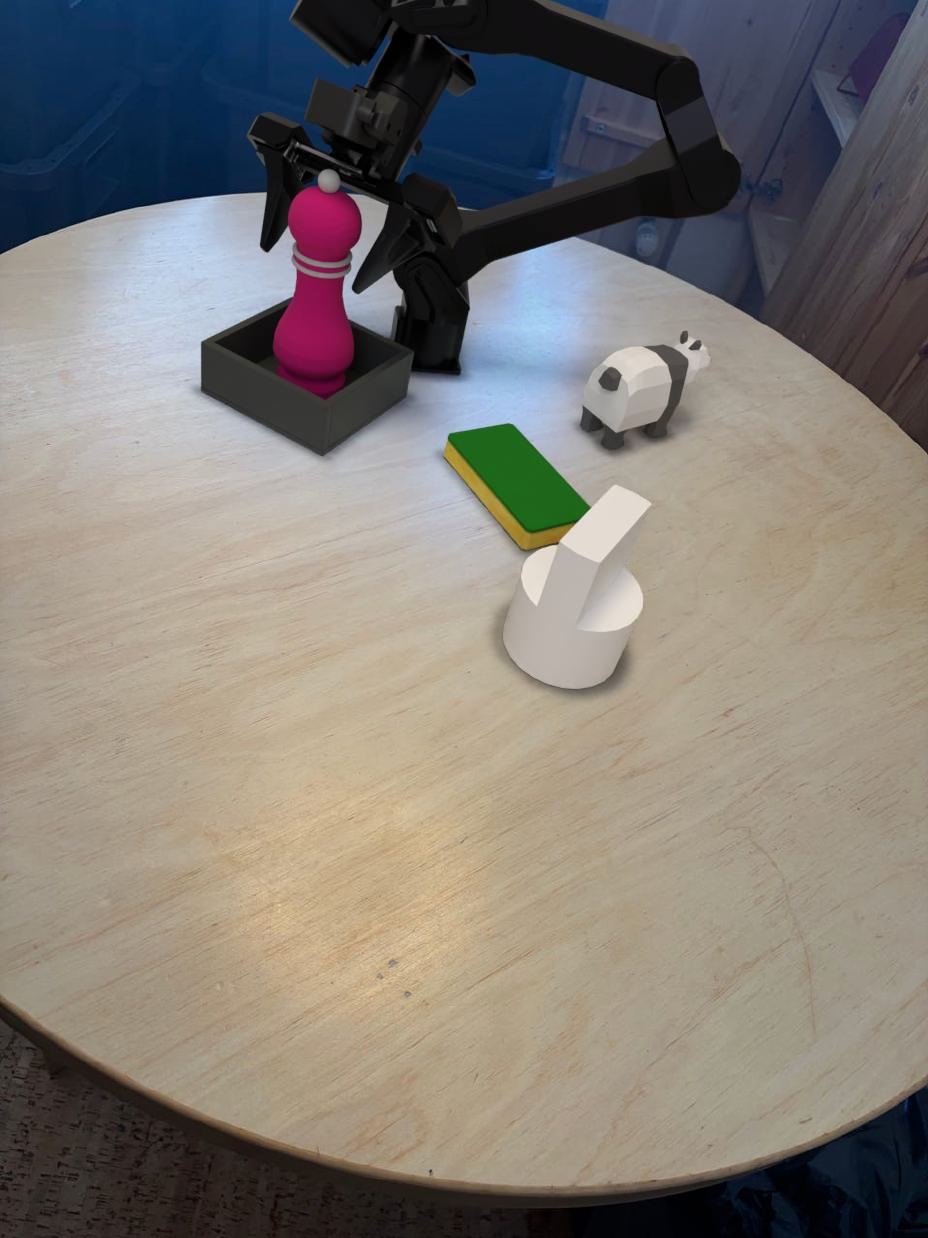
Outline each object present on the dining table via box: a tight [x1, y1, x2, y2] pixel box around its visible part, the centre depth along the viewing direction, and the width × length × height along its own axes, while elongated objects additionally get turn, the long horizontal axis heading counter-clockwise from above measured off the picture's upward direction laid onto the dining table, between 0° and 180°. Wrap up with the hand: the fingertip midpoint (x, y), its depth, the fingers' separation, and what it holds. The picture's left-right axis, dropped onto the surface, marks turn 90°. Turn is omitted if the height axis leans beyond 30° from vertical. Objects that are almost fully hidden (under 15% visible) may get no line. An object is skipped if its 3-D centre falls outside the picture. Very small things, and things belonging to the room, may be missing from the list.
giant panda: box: [579, 330, 713, 451], centre depth 93 cm, size 15×6×10 cm, turn 126°
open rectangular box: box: [200, 296, 414, 457], centre depth 87 cm, size 14×14×5 cm
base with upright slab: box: [502, 484, 652, 690], centre depth 68 cm, size 9×9×12 cm
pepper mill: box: [273, 169, 363, 400], centre depth 82 cm, size 7×7×20 cm
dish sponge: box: [443, 422, 592, 551], centre depth 83 cm, size 7×14×2 cm, turn 31°
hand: (308, 270), depth 79 cm, fingers open, 9 cm apart
